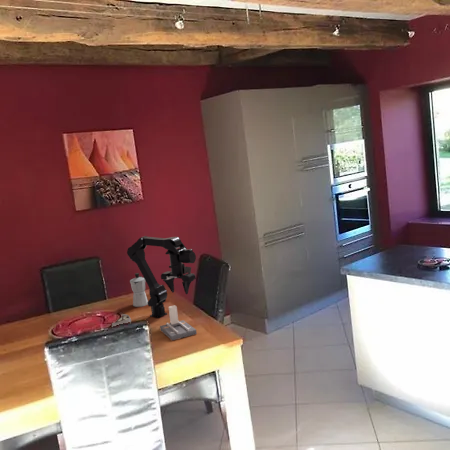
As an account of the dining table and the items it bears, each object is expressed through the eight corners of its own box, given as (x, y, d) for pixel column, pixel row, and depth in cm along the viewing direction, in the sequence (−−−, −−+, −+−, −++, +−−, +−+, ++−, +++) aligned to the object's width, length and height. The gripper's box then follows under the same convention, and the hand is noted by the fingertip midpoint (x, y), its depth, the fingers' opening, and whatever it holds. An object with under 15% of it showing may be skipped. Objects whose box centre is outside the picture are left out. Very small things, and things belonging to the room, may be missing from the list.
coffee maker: (146, 307, 275) (142, 275, 272) (130, 308, 275) (126, 277, 273) (150, 299, 290) (147, 268, 287) (135, 300, 290) (131, 270, 287)
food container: (127, 344, 225) (124, 323, 223) (114, 344, 226) (111, 323, 224) (137, 333, 237) (134, 313, 235) (125, 333, 238) (122, 313, 236)
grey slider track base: (160, 330, 238) (159, 324, 238) (183, 324, 244) (183, 318, 243) (171, 340, 224) (171, 334, 224) (196, 333, 229) (195, 327, 229)
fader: (169, 324, 238) (167, 306, 236) (177, 323, 239) (175, 304, 238) (171, 326, 235) (169, 308, 233) (179, 324, 237) (177, 306, 235)
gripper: (201, 259, 248) (204, 290, 251) (173, 257, 260) (177, 287, 262) (186, 265, 240) (189, 296, 242) (158, 263, 251) (162, 293, 254)
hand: (179, 293), depth 250 cm, fingers open, 9 cm apart
